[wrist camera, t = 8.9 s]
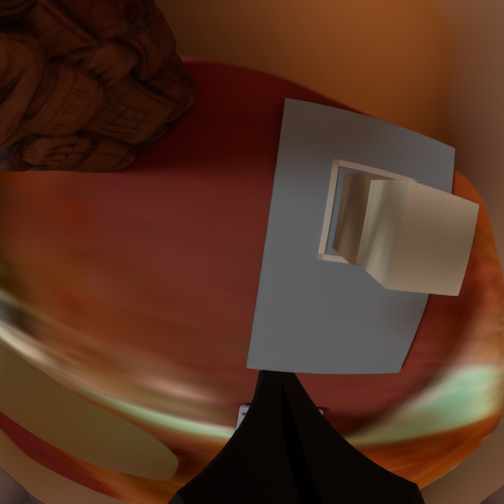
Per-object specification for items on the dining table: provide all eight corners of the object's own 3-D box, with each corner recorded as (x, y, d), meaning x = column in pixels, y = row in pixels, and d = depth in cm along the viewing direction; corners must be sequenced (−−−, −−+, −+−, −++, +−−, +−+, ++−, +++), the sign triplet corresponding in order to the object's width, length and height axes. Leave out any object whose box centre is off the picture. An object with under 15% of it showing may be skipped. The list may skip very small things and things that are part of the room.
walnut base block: (394, 257, 18) (421, 274, 14) (332, 247, 18) (350, 264, 14) (406, 189, 17) (438, 192, 13) (344, 174, 17) (366, 172, 13)
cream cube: (419, 271, 14) (458, 296, 10) (355, 262, 14) (386, 289, 10) (435, 197, 13) (479, 204, 9) (371, 179, 13) (408, 179, 9)
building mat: (395, 367, 21) (399, 373, 21) (247, 362, 21) (246, 368, 20) (449, 149, 17) (455, 148, 16) (284, 101, 16) (285, 97, 16)
